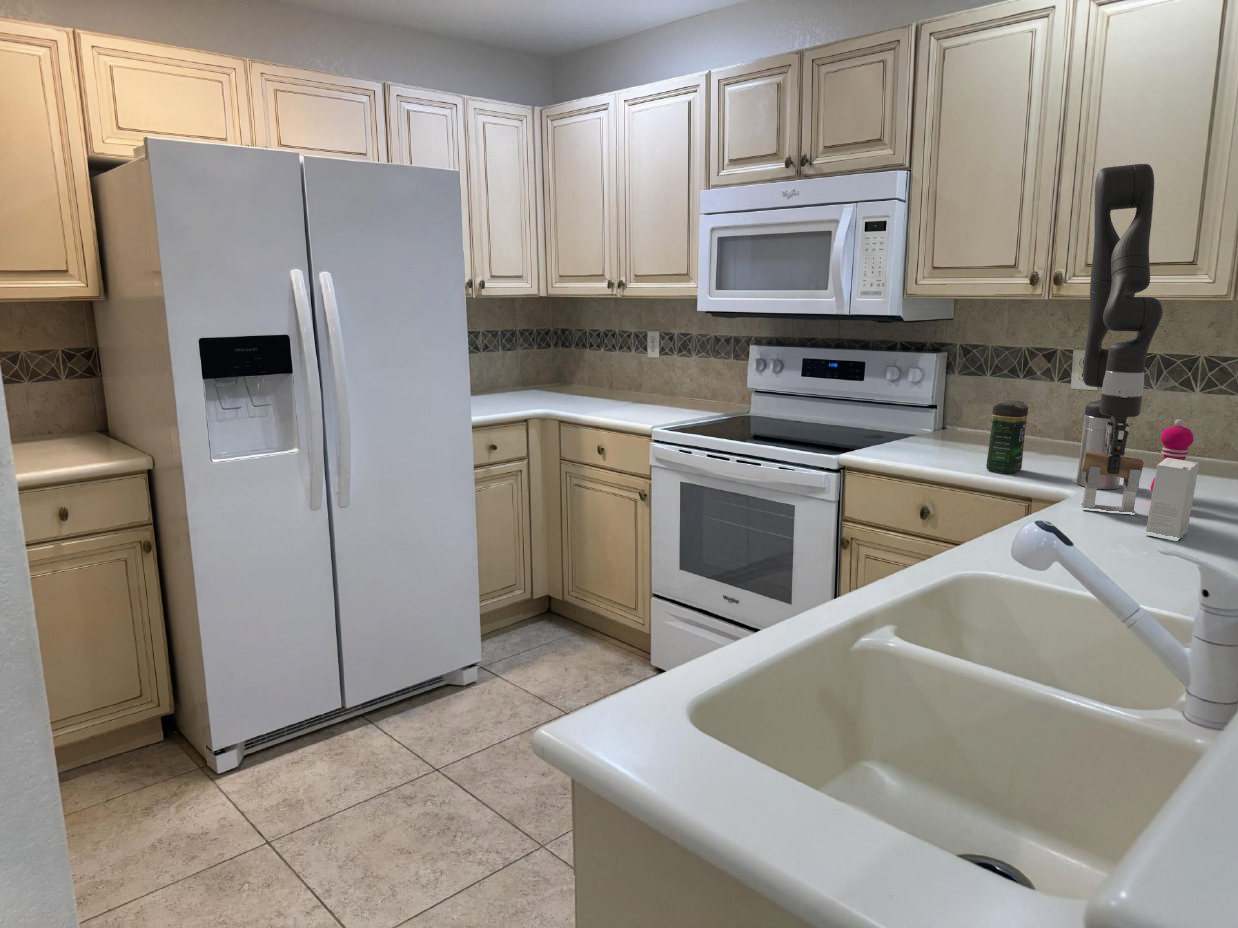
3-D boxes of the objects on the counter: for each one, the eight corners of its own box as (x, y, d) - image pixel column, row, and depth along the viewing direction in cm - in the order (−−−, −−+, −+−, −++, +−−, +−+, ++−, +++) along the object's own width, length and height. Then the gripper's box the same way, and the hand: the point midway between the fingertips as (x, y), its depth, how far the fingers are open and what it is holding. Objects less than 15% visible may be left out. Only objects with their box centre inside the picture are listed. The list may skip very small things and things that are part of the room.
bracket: (1080, 505, 194) (1085, 460, 191) (1131, 510, 190) (1137, 464, 187) (1083, 512, 187) (1088, 466, 185) (1135, 517, 184) (1142, 470, 181)
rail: (1080, 468, 191) (1084, 450, 190) (1137, 477, 187) (1141, 459, 186) (1082, 471, 187) (1086, 453, 186) (1139, 480, 183) (1143, 462, 182)
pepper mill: (1150, 502, 196) (1163, 415, 192) (1188, 507, 192) (1201, 418, 188) (1145, 508, 191) (1157, 419, 187) (1183, 514, 186) (1197, 423, 182)
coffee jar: (1013, 475, 222) (1020, 404, 218) (982, 471, 227) (988, 401, 224) (1025, 469, 229) (1033, 400, 225) (995, 465, 234) (1001, 397, 231)
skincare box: (1154, 528, 176) (1164, 456, 173) (1189, 534, 172) (1200, 461, 169) (1144, 536, 170) (1154, 463, 167) (1180, 543, 166) (1191, 467, 163)
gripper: (1098, 388, 191) (1089, 464, 195) (1105, 395, 178) (1095, 476, 182) (1137, 390, 188) (1127, 467, 192) (1147, 397, 175) (1136, 480, 179)
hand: (1111, 471), depth 187 cm, fingers closed on rail, 3 cm apart
